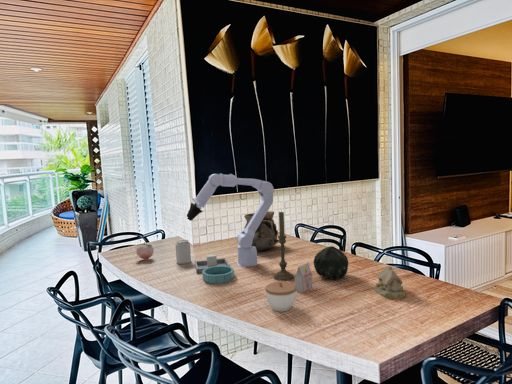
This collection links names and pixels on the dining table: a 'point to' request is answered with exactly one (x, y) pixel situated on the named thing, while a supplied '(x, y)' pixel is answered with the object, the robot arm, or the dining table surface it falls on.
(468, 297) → the dining table surface
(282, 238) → the candlestick holder
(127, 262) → the dining table surface
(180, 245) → the can
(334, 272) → the squash
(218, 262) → the parts tray
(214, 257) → the gray rectangular block
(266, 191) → the robot arm
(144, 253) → the decorative fruit
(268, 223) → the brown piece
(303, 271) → the milk carton
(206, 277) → the bowl
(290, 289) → the lidded jar
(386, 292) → the ceramic model
